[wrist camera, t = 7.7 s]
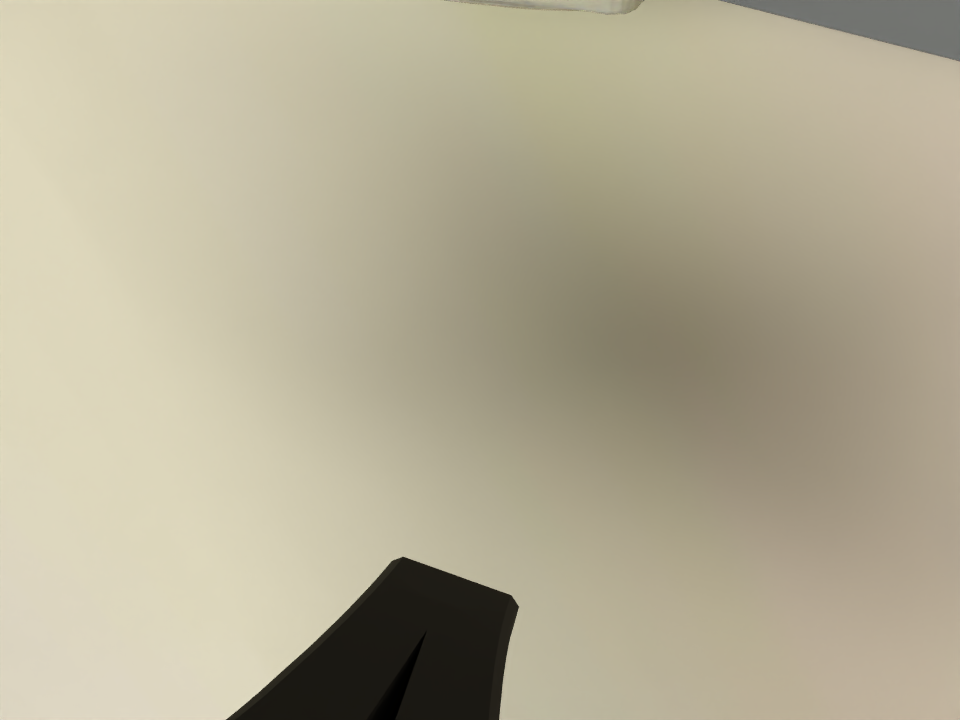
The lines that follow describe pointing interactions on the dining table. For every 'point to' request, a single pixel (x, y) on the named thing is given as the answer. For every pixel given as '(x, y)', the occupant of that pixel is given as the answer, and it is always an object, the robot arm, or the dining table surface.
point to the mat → (879, 20)
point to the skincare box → (565, 5)
